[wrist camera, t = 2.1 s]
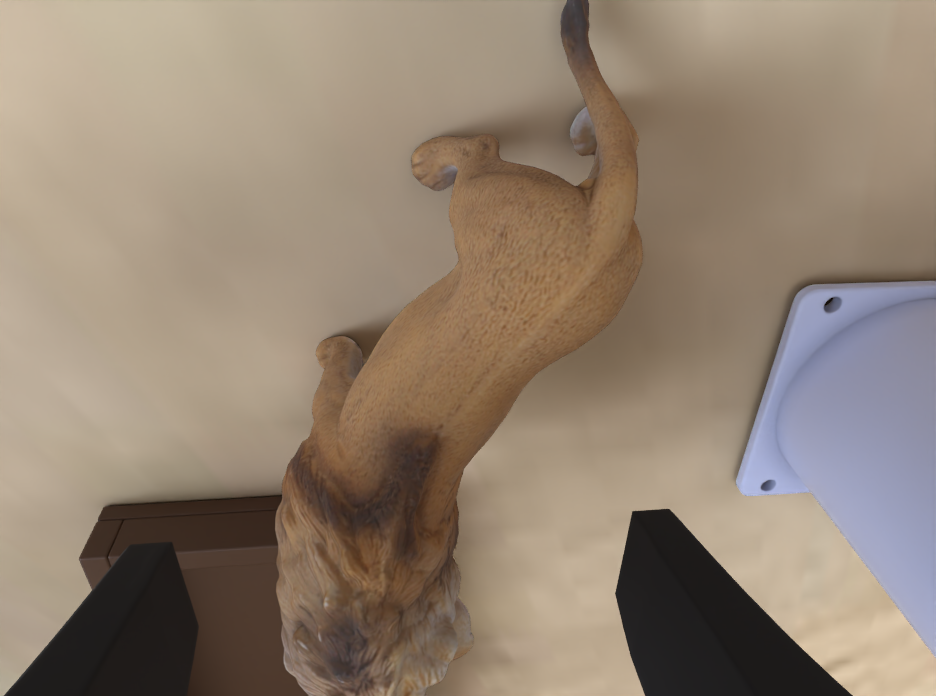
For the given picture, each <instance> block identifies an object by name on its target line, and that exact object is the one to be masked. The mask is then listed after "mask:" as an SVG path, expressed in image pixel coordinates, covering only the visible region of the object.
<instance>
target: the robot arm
mask: <svg viewBox="0 0 936 696" xmlns="http://www.w3.org/2000/svg"><path fill="white" fill-rule="evenodd" d="M832 297H834V299H833V300H832V302H831V303H829V304H828V305H826V306H824V304H825V303H826V301H827V300H829V299H830V298H832ZM765 481H766V482H765ZM736 485H737V487H738V488H739V490H740V492H741V493H742V494H744V495H745V496H759V495H775V494H791V493H806V492H811V494H812V495H813V496H814V498H815V499H816V500H817V502H818V503H819V504H820V506H821V507H822V508H823V510H824V511H825V512H826V513H827V515H828V516H829V517H830V519H831V520H832V521H833V523H834V524H835V525H836V527H837V528H838V529H839V531H840V532H841V533H842V535H843V536H844V537H845V539H846V540H847V541H848V543H849V544H850V545H851V547H852V548H853V549H854V551H855V552H856V553H857V555H858V556H859V557H860V558H861V560H862V561H863V562H864V564H865V565H866V566H867V568H868V569H869V570H870V572H871V573H872V574H873V576H874V577H875V578H876V580H877V581H878V582H879V584H880V585H881V586H882V588H883V589H884V590H885V592H886V593H887V594H888V596H889V597H890V598H891V600H892V601H893V602H894V603H895V605H896V606H897V607H898V609H899V610H900V611H901V613H902V614H903V615H904V617H905V618H906V619H907V621H908V622H909V623H910V625H911V626H912V627H913V629H914V630H915V631H916V633H917V634H918V635H919V637H920V638H921V639H922V641H923V642H924V643H925V645H926V646H927V647H928V648H929V650H930V651H931V652H932V654H933V655H934V656H935V658H936V281H906V282H873V283H840V284H814V285H809V286H807V287H805V288H803V289H801V290H800V291H799V292H798V293H797V294H796V296H795V298H794V300H793V303H792V306H791V309H790V313H789V316H788V319H787V322H786V325H785V328H784V331H783V335H782V338H781V341H780V344H779V347H778V350H777V353H776V357H775V360H774V363H773V366H772V369H771V372H770V375H769V379H768V382H767V385H766V388H765V391H764V394H763V397H762V401H761V404H760V407H759V410H758V413H757V416H756V419H755V423H754V426H753V429H752V432H751V435H750V438H749V441H748V445H747V448H746V451H745V454H744V457H743V460H742V463H741V466H740V470H739V473H738V476H737V479H736ZM615 594H616V598H617V603H618V607H619V611H620V615H621V619H622V623H623V628H624V632H625V635H626V639H627V643H628V647H629V651H630V655H631V658H632V661H633V663H634V666H635V669H636V672H637V675H638V677H639V680H640V683H641V685H642V688H643V691H644V694H645V696H852V695H851V694H850V693H849V692H848V691H847V690H846V689H845V688H844V687H842V686H841V685H840V684H839V683H838V682H837V681H836V680H835V679H834V678H833V677H831V676H830V675H829V674H828V673H827V672H826V671H825V670H824V669H823V668H822V667H821V666H820V665H819V664H818V663H817V662H815V661H814V660H813V659H812V658H811V657H810V656H809V655H808V654H807V653H806V652H805V651H804V650H803V649H802V648H801V647H800V646H799V645H798V644H797V643H796V642H795V641H794V640H793V639H791V638H790V637H789V636H788V635H787V634H786V633H785V632H784V631H783V630H782V629H781V628H780V627H779V626H778V625H777V624H776V623H775V622H774V620H773V619H772V618H771V617H770V616H769V615H768V614H767V613H766V612H765V611H764V610H763V609H762V608H761V607H760V606H759V605H758V604H757V603H756V602H755V601H754V600H753V599H752V598H751V597H750V596H749V595H748V594H747V593H746V592H745V591H744V590H743V589H742V588H741V587H740V585H739V584H738V583H737V582H736V581H735V580H734V579H733V578H732V577H731V576H730V575H729V574H728V573H727V572H726V570H725V569H724V568H723V567H722V566H721V565H720V564H719V563H718V562H717V561H716V560H715V559H714V557H713V556H712V555H711V554H710V553H709V552H708V551H707V550H706V549H705V548H704V546H703V545H702V544H701V543H700V542H699V541H698V540H697V539H696V538H695V536H694V535H693V534H692V533H691V532H690V531H689V530H688V529H687V528H686V527H685V525H684V524H683V523H682V522H681V521H680V520H679V519H678V518H677V517H676V516H675V514H674V513H673V512H672V511H671V510H669V509H661V510H646V511H633V512H632V516H631V521H630V526H629V531H628V536H627V540H626V545H625V550H624V555H623V560H622V565H621V569H620V574H619V579H618V584H617V589H616V593H615ZM198 629H199V625H198V622H197V619H196V615H195V612H194V609H193V606H192V603H191V600H190V597H189V593H188V590H187V587H186V584H185V581H184V578H183V575H182V571H181V568H180V565H179V562H178V559H177V556H176V553H175V550H174V546H173V543H172V542H160V543H145V544H130V545H129V546H128V547H127V548H126V549H125V550H124V551H123V553H122V554H121V555H120V556H119V558H118V559H117V560H116V561H115V563H114V564H113V565H112V566H111V568H110V569H109V570H108V571H107V573H106V574H105V575H104V576H103V578H102V579H101V580H100V581H99V583H98V584H97V585H96V586H95V588H94V589H93V590H92V591H91V593H90V594H89V595H88V596H87V598H86V599H85V600H84V601H83V602H82V604H81V605H80V606H79V607H78V609H77V610H76V611H75V612H74V614H73V615H72V616H71V617H70V618H69V620H68V621H67V622H66V623H65V625H64V626H63V627H62V628H61V629H60V631H59V632H58V633H57V634H56V635H55V637H54V638H53V639H52V640H51V641H50V643H49V644H48V645H47V646H46V647H45V648H44V650H43V651H42V652H41V653H40V654H39V655H38V657H37V658H36V659H35V660H34V661H33V663H32V664H31V665H30V666H29V667H28V668H27V670H26V671H25V672H24V673H23V674H22V675H21V677H20V678H19V679H18V680H17V681H16V682H15V684H14V685H13V686H12V687H11V688H10V689H9V690H8V692H7V693H6V694H5V695H4V696H187V692H188V686H189V681H190V676H191V670H192V665H193V659H194V653H195V647H196V641H197V635H198Z"/></svg>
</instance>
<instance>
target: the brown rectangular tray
mask: <svg viewBox="0 0 936 696" xmlns="http://www.w3.org/2000/svg"><path fill="white" fill-rule="evenodd" d="M281 501H282V496H275V497H258V498H241V499H224V500H207V501H190V502H174V503H157V504H140V505H123V506H106V507H104V508H103V510H102V512H101V514H100V516H99V518H98V522H97V523H96V525H95V527H94V529H93V531H92V533H91V535H90V537H89V539H88V541H87V543H86V545H85V547H84V549H83V551H82V553H81V555H80V557H79V561H80V563H81V565H82V568H83V570H84V572H85V575H86V577H87V579H88V582H89V584H90V586H91V589H92V590H93V589H94V588H95V586H96V585H97V584H98V583H99V581H100V580H101V579H102V578H103V576H104V575H105V574H106V573H107V571H108V570H109V569H110V568H111V566H112V565H113V564H114V563H115V561H116V560H117V559H118V558H119V556H120V555H121V554H122V553H123V551H124V550H125V549H126V548H127V547H128V546H129V545H130V544H145V543H160V542H172V543H173V546H174V550H175V553H176V556H177V559H178V562H179V565H180V568H181V571H182V575H183V578H184V581H185V584H186V587H187V590H188V593H189V597H190V600H191V603H192V606H193V609H194V612H195V615H196V619H197V622H198V625H199V629H198V635H197V641H196V647H195V653H194V659H193V665H192V670H191V676H190V681H189V686H188V692H187V696H309V695H308V694H307V693H306V692H305V691H304V690H303V689H302V687H301V686H300V685H299V684H298V682H297V679H296V677H295V676H293V675H292V674H290V673H289V672H288V671H287V670H286V668H285V665H284V658H283V657H284V649H285V648H284V646H283V642H282V637H281V631H282V625H283V622H282V618H281V608H280V605H279V601H278V597H277V593H276V584H277V581H278V579H279V571H278V568H277V556H278V541H277V536H276V531H275V517H276V512H277V509H278V507H279V505H280V503H281Z"/></svg>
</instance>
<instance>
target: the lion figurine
mask: <svg viewBox="0 0 936 696" xmlns="http://www.w3.org/2000/svg"><path fill="white" fill-rule="evenodd" d="M588 17H589V3H588V0H567V3H566V5H565V7H564V9H563V12H562V15H561V37H562V42H563V46H564V49H565V52H566V55H567V59H568V64H569V66H570V68H571V70H572V73H573V75H574V77H575V79H576V81H577V83H578V86H579V88H580V91H581V93H582V95H583V97H584V100H585V103H586V107H585V108H583V109H582V110H581V111H580V112H579V114H578V115H577V116H576V118H575V120H574V122H573V124H572V126H571V128H570V138H571V140H572V142H573V145H574V148H575V151H576V152H577V153H578V154H579V155H581V156H586V155H595V160H594V164H593V167H592V170H591V173H590V175H589V177H588V179H586V180H585V181H583V182H582V183H581V184H579V185H578V186H573V185H572V184H570V183H569V182H567V181H565V180H564V179H562V178H560V177H559V176H557V175H555V174H552V173H550V172H547V171H544V170H541V169H538V168H535V167H531V166H526V165H521V164H516V163H511V162H507V161H503V160H502V159H501V158H500V156H499V143H498V141H497V139H496V138H495V137H494V136H492V135H490V134H481V135H477V136H472V137H463V138H458V137H454V136H443V137H437V138H433V139H431V140H429V141H427V142H425V143H423V144H421V145H420V146H419V147H418V148H417V149H416V150H415V152H414V153H413V155H412V157H411V165H412V172H413V175H414V176H415V177H416V178H417V179H418V180H419V181H420V182H421V184H423V185H425V186H427V187H429V188H431V189H433V190H434V191H441V190H444V189H446V188H447V187H449V186H450V185H451V184H452V183H453V182H454V181H455V183H454V188H453V192H452V197H451V202H450V208H449V217H450V222H451V224H452V227H453V230H454V236H455V247H456V250H457V253H458V256H459V261H458V264H457V265H456V267H455V268H454V269H453V270H452V271H451V272H450V273H449V274H448V275H447V276H446V277H444V278H442V279H441V280H440V281H438V282H437V283H435V284H434V285H432V286H431V287H429V288H428V289H427V290H426V291H424V292H423V293H422V294H421V295H419V296H418V297H417V298H416V299H414V300H413V301H412V302H410V303H409V304H408V305H407V306H406V307H405V308H404V309H403V310H402V311H401V312H400V313H399V314H398V316H397V317H396V318H395V319H394V320H393V321H392V322H391V324H390V325H389V327H388V328H387V329H386V331H385V332H384V333H383V335H382V336H381V338H380V340H379V341H378V343H377V344H376V346H375V348H374V349H373V351H372V353H371V355H370V357H369V359H368V361H367V363H366V364H365V365H364V366H363V361H362V352H361V349H360V347H359V346H358V345H357V344H356V343H355V342H354V341H353V340H352V339H350V338H348V337H346V336H337V337H331V338H328V339H325V340H324V341H322V342H321V343H320V344H319V346H318V347H317V350H316V356H317V358H318V361H319V364H320V366H321V367H323V368H324V369H325V370H324V372H323V375H322V378H321V382H320V385H319V387H318V389H317V391H316V393H315V396H314V400H313V407H312V414H313V418H314V424H313V427H312V431H311V434H310V437H309V438H308V439H306V440H305V441H303V442H302V443H301V445H300V447H299V449H298V451H297V453H296V455H295V456H294V457H293V458H292V459H291V461H290V463H289V464H288V467H287V471H286V474H285V476H284V479H283V483H282V501H281V503H280V505H279V507H278V509H277V512H276V517H275V531H276V536H277V541H278V556H277V568H278V571H279V579H278V581H277V584H276V593H277V597H278V601H279V605H280V608H281V618H282V622H283V625H282V631H281V637H282V642H283V646H284V648H285V649H284V657H283V658H284V665H285V668H286V670H287V671H288V672H289V673H290V674H292V675H293V676H295V677H296V679H297V682H298V684H299V685H300V686H301V687H302V689H303V690H304V691H305V692H306V693H307V694H308V695H309V696H426V689H427V687H429V686H432V685H435V684H437V683H440V682H441V680H442V679H443V678H444V677H445V675H446V672H447V670H448V665H449V663H450V662H451V661H452V660H455V659H457V658H459V657H461V656H463V655H464V654H466V653H467V652H468V651H469V650H470V649H471V647H472V645H473V641H474V637H473V635H472V633H471V629H470V616H469V613H468V610H467V608H466V606H465V605H464V604H463V602H462V601H461V600H460V599H459V598H458V597H457V596H458V593H459V589H460V580H461V576H460V571H459V568H458V566H457V564H456V562H455V560H454V559H453V555H452V554H453V550H454V548H455V546H456V543H457V538H458V513H459V512H458V507H457V501H456V496H457V492H458V488H459V485H460V481H461V477H462V475H463V470H464V468H465V467H466V465H467V464H468V463H469V462H470V460H471V459H472V458H473V457H474V455H475V454H476V453H477V452H478V451H479V450H480V449H481V448H482V447H483V445H484V444H485V443H486V442H487V441H488V439H489V438H490V437H491V436H492V434H493V433H494V432H495V430H496V429H497V428H498V426H499V425H500V424H501V422H502V421H503V420H504V418H505V417H506V415H507V414H508V412H509V410H510V409H511V407H512V405H513V404H514V402H515V400H516V398H517V397H518V395H519V394H520V392H521V391H522V389H523V388H524V387H525V386H526V384H527V383H528V382H529V381H530V380H531V379H532V378H533V377H534V376H535V375H536V374H537V373H538V372H540V371H541V370H542V369H543V368H545V367H546V366H548V365H550V364H551V363H553V362H555V361H556V360H558V359H560V358H561V357H563V356H565V355H567V354H569V353H571V352H572V351H574V350H576V349H577V348H579V347H580V346H582V345H583V344H585V343H586V342H588V341H589V340H590V339H592V338H593V337H594V336H595V335H597V334H598V333H599V332H600V331H602V330H603V329H604V328H605V327H606V326H607V325H608V324H609V323H610V322H611V321H612V320H613V319H614V317H615V316H616V315H617V314H618V312H619V311H620V309H621V307H622V306H623V304H624V302H625V300H626V298H627V296H628V294H629V292H630V290H631V288H632V286H633V284H634V282H635V280H636V278H637V275H638V273H639V270H640V268H641V265H642V256H643V251H642V241H641V237H640V234H639V231H638V228H637V226H636V224H635V222H634V220H633V218H634V214H635V210H636V203H637V188H638V167H637V156H636V150H637V146H638V142H639V138H638V135H637V133H636V131H635V129H634V128H633V126H632V125H631V123H630V121H629V119H628V118H627V116H626V114H625V113H624V112H623V110H622V109H621V108H620V106H619V103H618V102H617V100H616V98H615V97H614V95H613V93H612V92H611V90H610V89H609V87H608V86H607V84H606V83H605V81H604V79H603V77H602V75H601V73H600V71H599V69H598V66H597V63H596V61H595V58H594V55H593V52H592V50H591V48H590V44H589V39H588V31H589V20H588Z"/></svg>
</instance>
